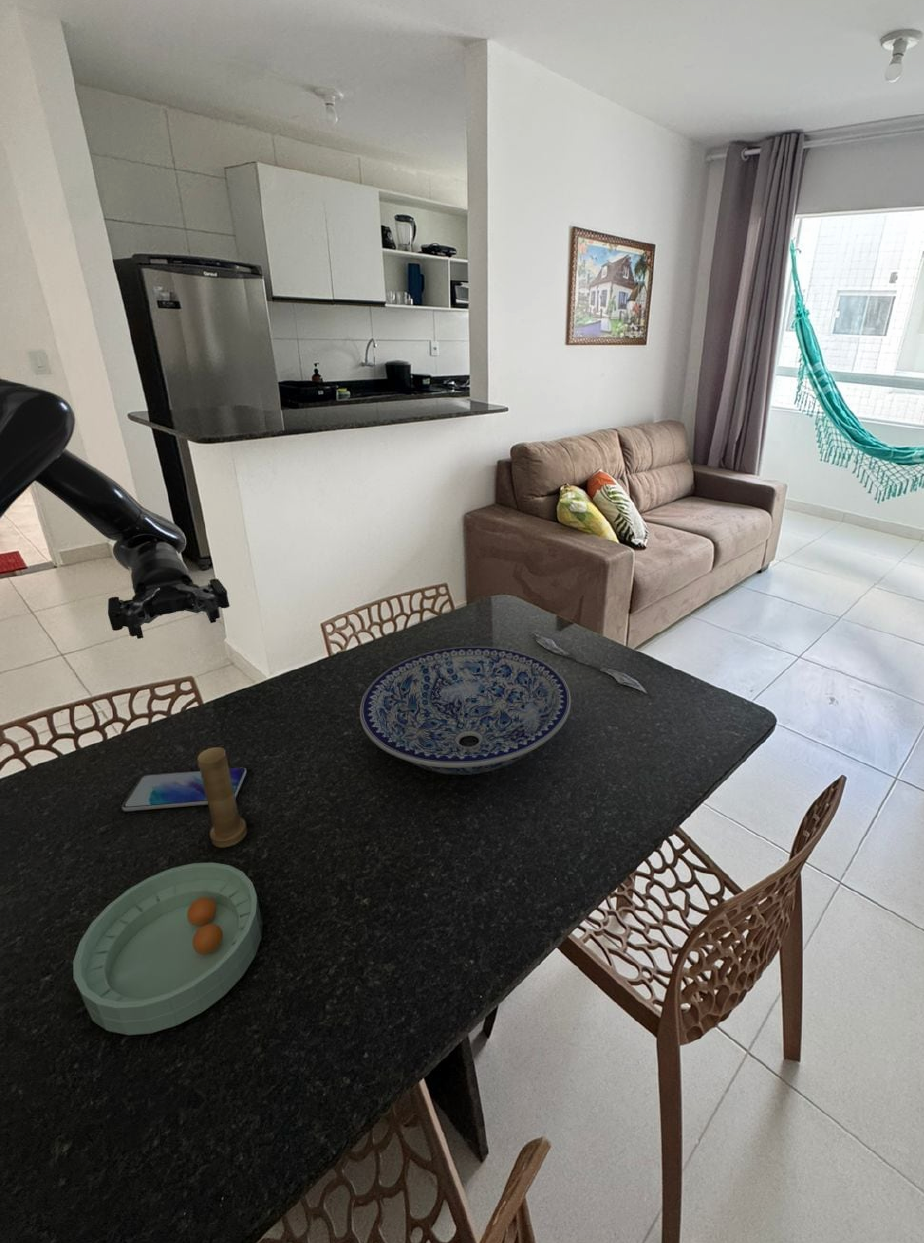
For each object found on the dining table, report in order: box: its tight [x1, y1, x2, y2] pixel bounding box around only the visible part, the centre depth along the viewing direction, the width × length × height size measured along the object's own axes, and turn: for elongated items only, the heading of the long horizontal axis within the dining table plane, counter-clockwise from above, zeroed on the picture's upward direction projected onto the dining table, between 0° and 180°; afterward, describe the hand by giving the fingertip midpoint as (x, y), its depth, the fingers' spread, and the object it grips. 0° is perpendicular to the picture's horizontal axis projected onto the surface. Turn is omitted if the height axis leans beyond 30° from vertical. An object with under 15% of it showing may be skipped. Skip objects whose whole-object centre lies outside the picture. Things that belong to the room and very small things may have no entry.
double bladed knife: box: [533, 632, 647, 694], centre depth 133 cm, size 32×1×5 cm
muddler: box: [197, 746, 248, 848], centre depth 84 cm, size 4×4×14 cm
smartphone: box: [121, 767, 247, 812], centre depth 94 cm, size 7×1×15 cm
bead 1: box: [187, 897, 217, 926], centre depth 74 cm, size 3×3×3 cm
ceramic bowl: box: [359, 646, 572, 776], centre depth 106 cm, size 34×34×10 cm
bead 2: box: [192, 924, 223, 954], centre depth 71 cm, size 3×3×3 cm
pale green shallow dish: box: [72, 862, 263, 1036], centre depth 70 cm, size 17×17×5 cm
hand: (176, 624), depth 84 cm, fingers open, 8 cm apart
